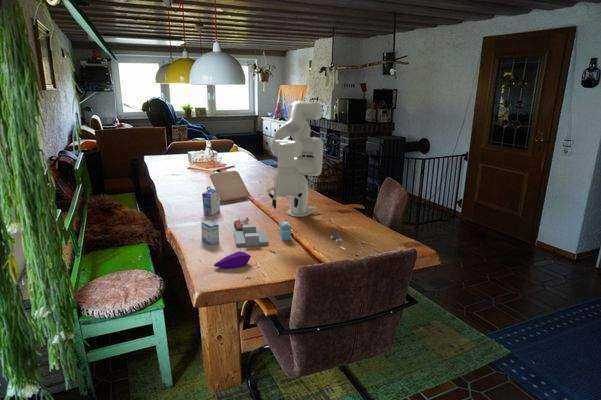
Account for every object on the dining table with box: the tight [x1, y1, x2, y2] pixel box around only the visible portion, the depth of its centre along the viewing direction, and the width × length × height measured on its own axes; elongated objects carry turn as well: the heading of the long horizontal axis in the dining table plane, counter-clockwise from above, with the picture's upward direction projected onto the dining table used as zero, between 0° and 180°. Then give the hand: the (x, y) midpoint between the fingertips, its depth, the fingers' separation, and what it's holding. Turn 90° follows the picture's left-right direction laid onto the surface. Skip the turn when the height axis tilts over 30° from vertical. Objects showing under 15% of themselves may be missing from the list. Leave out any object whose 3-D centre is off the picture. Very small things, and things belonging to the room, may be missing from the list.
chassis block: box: [233, 223, 269, 248], centre depth 183 cm, size 14×15×5 cm
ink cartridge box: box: [201, 185, 221, 217], centre depth 217 cm, size 10×6×14 cm, turn 164°
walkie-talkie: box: [233, 216, 253, 231], centre depth 199 cm, size 9×4×20 cm
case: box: [209, 170, 250, 205], centre depth 245 cm, size 20×21×16 cm
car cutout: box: [330, 230, 346, 250], centre depth 183 cm, size 15×7×4 cm, turn 27°
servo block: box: [278, 220, 292, 241], centre depth 186 cm, size 4×10×8 cm, turn 13°
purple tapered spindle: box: [213, 251, 252, 269], centre depth 157 cm, size 5×5×15 cm
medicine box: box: [200, 220, 220, 245], centre depth 180 cm, size 8×4×9 cm, turn 45°
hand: (285, 207), depth 183 cm, fingers open, 9 cm apart
